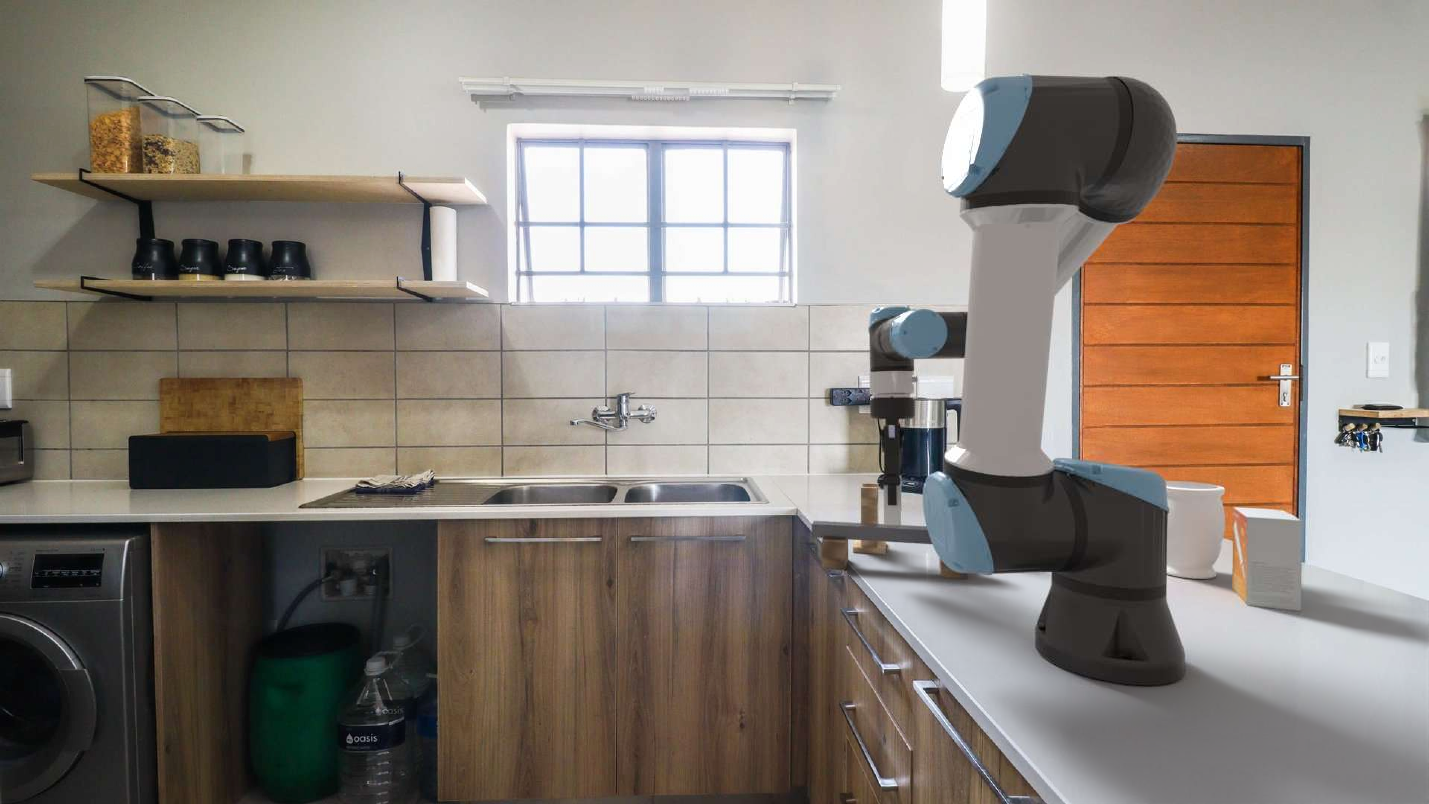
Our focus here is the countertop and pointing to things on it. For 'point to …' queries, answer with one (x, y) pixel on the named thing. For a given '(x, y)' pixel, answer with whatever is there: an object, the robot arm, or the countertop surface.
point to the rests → (838, 558)
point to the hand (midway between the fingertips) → (893, 517)
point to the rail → (871, 532)
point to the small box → (1267, 558)
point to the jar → (1194, 528)
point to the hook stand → (869, 519)
